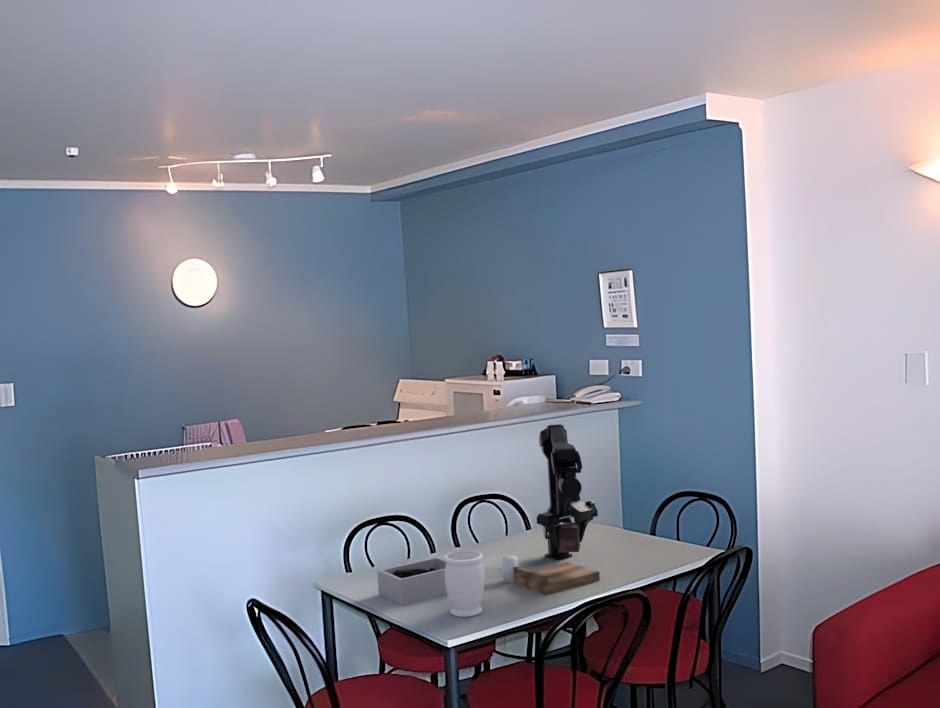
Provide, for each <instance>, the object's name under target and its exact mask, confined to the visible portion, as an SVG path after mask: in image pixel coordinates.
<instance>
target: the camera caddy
mask: <svg viewBox="0 0 940 708" xmlns="http://www.w3.org/2000/svg"><path fill="white" fill-rule="evenodd" d="M445 566H446V562H445V561H444V558H441V557H439V556H434V557H431V558H425V559H422V560H417V561H413V562H409V563H405V564H399V565H395V566H390V567H386V568H382V569H377V570H376V571H377V586H378V588H377V589H378V595H379V596H380V597H382V598H385V599H387V600H389V601H391V602H392V603H395V604H398V605H399V606H401V607H403V606H406V605H409V604H414V603H417V602H422V601H427V600H429V599H430V600H431V599H433V598H437V597H441V596H446V595H447V590H446V586H445ZM418 568H421V569H426V570H429V569H430V568H434V569H440V570H436V571H432V572H428V573H423V574H419V575H415V576H410V577H406V578H399V577H397V576H394V575H393V573H394V572H395V571H396V570H406V569H418Z"/></svg>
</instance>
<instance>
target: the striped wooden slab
mask: <svg viewBox="0 0 940 708" xmlns="http://www.w3.org/2000/svg"><path fill="white" fill-rule="evenodd" d="M600 576H601V575H600V571H598V570H595V569H592V568H589V567H586V566H582V565H578V564H576V563H571V562H569V561H567V562H563V563H558V564H554V565H551V566H547V567H543V568H542V567H541V568H537V569H535V570H530V569H526V568H524V567H523V568H522V567H520V566H518V567H517V566H516V567H514V583H513V584H514V585H516V586H518V587H521V588H524V589H527V590H529V591H532V592H535V593H539V594H541V595H544V596H547V595H551V594H554V593H559V592H563V591H566V590H569V589H573V588H577V587H580V585H581V586H583V585H588V584H591V583H594V582H599V581H600V579H601V578H600Z"/></svg>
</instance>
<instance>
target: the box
mask: <svg viewBox="0 0 940 708" xmlns="http://www.w3.org/2000/svg"><path fill="white" fill-rule="evenodd" d="M558 525H561V528H560V529H559V547H558V552H569V553H579V552H580V550H581V542H580V534H579V523H575V522H573V523H559V524H558Z"/></svg>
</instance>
